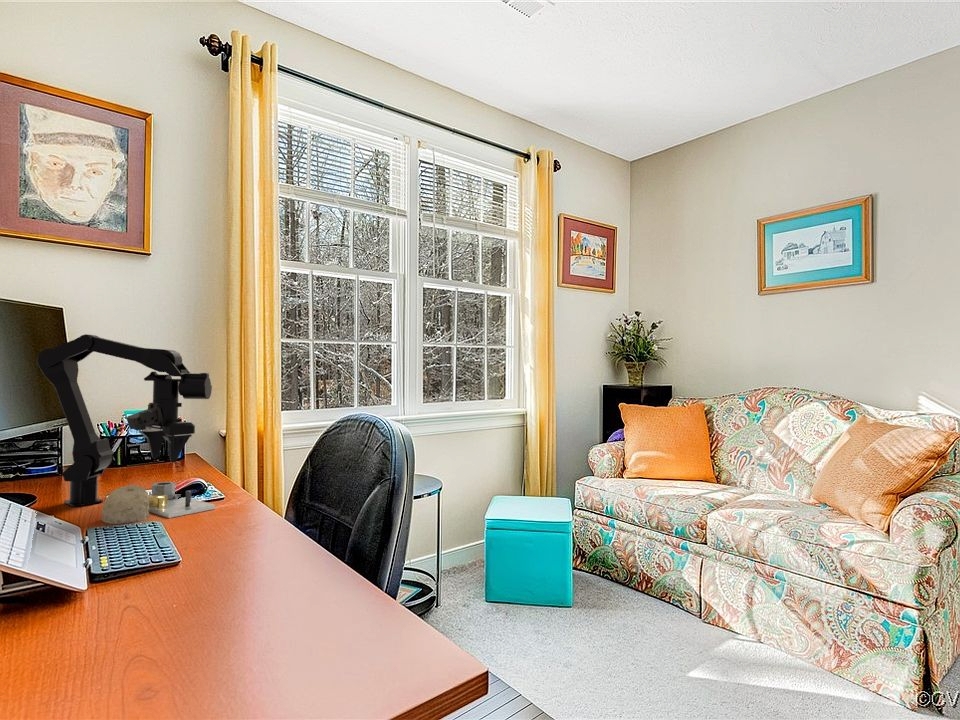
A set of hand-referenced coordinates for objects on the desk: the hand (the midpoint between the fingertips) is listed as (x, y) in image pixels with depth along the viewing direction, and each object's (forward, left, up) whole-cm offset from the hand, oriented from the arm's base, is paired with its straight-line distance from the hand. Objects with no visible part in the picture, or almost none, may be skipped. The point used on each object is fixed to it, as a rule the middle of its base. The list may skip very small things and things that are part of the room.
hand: (163, 460), depth 145 cm
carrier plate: (+10, -1, -11) cm, 15 cm away
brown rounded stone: (+10, -13, -11) cm, 20 cm away
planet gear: (0, 0, -11) cm, 11 cm away
